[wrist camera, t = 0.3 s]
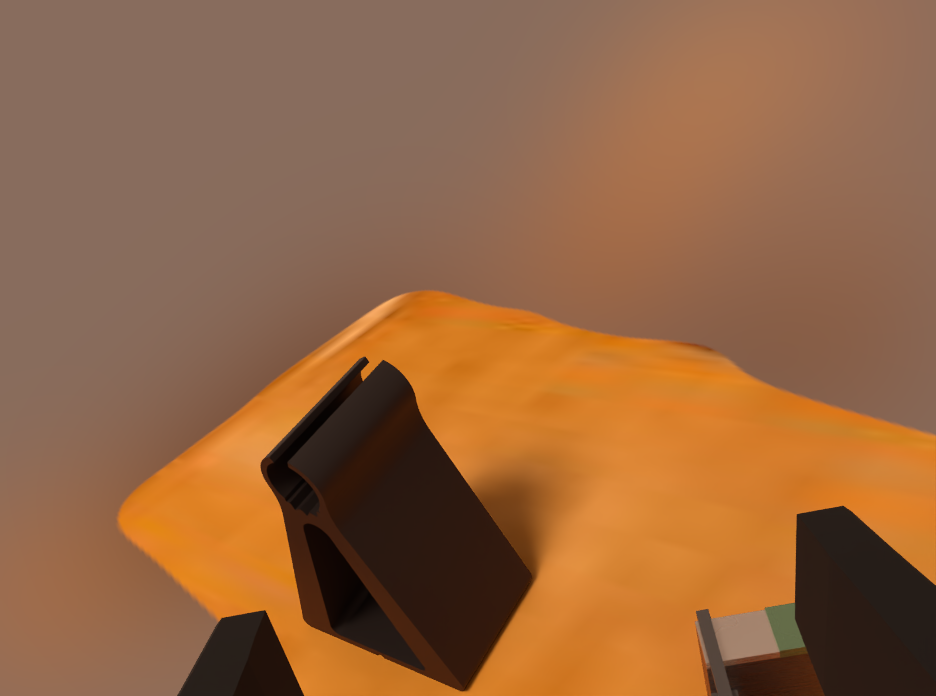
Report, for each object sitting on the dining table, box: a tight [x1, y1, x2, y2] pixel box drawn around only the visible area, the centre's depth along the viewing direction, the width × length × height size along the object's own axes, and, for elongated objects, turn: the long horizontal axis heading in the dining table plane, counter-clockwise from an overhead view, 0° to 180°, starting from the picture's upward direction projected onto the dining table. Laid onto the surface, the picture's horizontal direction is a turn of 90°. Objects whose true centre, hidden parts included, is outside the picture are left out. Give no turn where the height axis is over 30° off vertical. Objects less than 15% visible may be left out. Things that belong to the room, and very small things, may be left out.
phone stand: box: [261, 357, 532, 691], centre depth 37 cm, size 9×6×12 cm, turn 58°
